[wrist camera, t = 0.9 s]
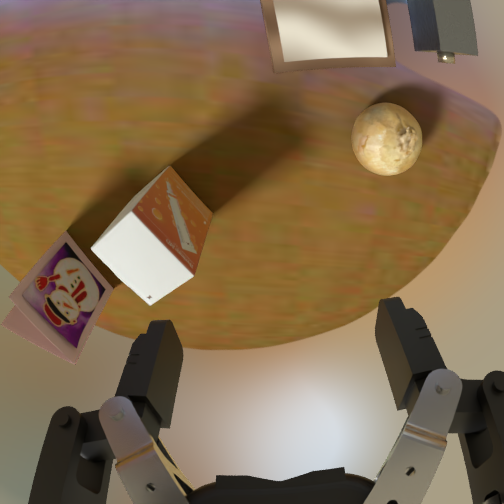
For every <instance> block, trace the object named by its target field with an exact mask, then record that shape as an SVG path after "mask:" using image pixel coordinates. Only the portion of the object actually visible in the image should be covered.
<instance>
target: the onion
mask: <svg viewBox="0 0 504 504" xmlns="http://www.w3.org/2000/svg"><path fill="white" fill-rule="evenodd" d="M351 141H352V147H353V151H354V154H355V156H356V157H357V159H358V161H359V162H360V163H361V164H362V166H364V167H365V168H366V169H368V170H369V171H371V172H373V173H376V174H379V175H386V176H389V175H395V174H399V173H402V172H404V171H406V170H407V169H409V168H410V167H411V166H412V165H413V164H414V163H415V161H416V160H417V158H418V156H419V154H420V151H421V148H422V132H421V128H420V126H419V124H418V122H417V121H416V119H415V118H414V117H413V116H412V114H410V113H409V112H408V111H407V110H406V109H404V108H403V107H401V106H399V105H396V104H393V103H378V104H374V105H372V106H370V107H368V108H366V109H365V110H364V111H363V112H362V113H361V114H360V115H359V116H358V117H357V119H356V121H355V123H354V126H353V130H352V136H351Z"/></svg>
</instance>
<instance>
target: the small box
mask: <svg viewBox="0 0 504 504" xmlns="http://www.w3.org/2000/svg"><path fill="white" fill-rule="evenodd" d="M212 216H213V213H212V212H211V211H210V210H209V209H208V208H207V207H206V206H205V204H204V203H203V202H202V201H201V200H200V199H199V198H198V197H197V196H196V194H195V193H194V192H193V191H192V190H191V189H190V188H189V187H188V186H187V184H186V183H185V182H184V181H183V180H182V179H181V177H180V176H179V175H178V174H177V173H176V172H175V170H174V169H173V168H172V167H171V166H168V167H167V168H166V169H165V170H163V171H162V172H161V173H160V174H159V175H158V176H156V177H155V178H154V179H153V180H152V181H151V182H150V183H148V184H147V185H146V186H145V187H144V188H143V189H142V190H141V191H140V192H138V193H137V194H136V195H135V196H134V197H133V198H132V199H131V201H130V202H129V203H128V204H127V205H126V206H125V207H124V208H123V210H122V211H121V212H120V213H119V214H118V216H117V217H116V218H115V219H114V220H113V222H112V223H111V224H110V225H109V226H108V228H107V229H106V230H105V231H104V232H103V234H102V235H101V236H100V237H99V239H98V240H97V241H96V242H95V243H94V245H93V246H92V247H91V250H92V251H93V252H94V253H95V254H96V255H97V256H98V257H99V258H100V259H101V260H102V261H103V262H104V263H105V264H106V265H107V266H108V267H109V268H110V269H111V270H112V271H113V272H114V274H115V275H116V276H117V277H118V278H119V279H120V280H121V281H122V282H123V283H125V284H126V285H127V286H128V287H130V288H131V289H132V290H133V291H134V292H135V293H136V294H137V295H139V296H140V297H141V298H142V299H143V300H144V301H145V302H146V303H148V304H149V305H152V304H153V303H155V302H156V301H158V300H159V299H161V298H162V297H164V296H165V295H167V294H168V293H170V292H171V291H173V290H174V289H176V288H177V287H179V286H180V285H182V284H183V283H185V282H186V281H188V280H189V279H191V278H192V277H194V276H195V272H196V269H197V266H198V262H199V259H200V256H201V252H202V249H203V246H204V242H205V239H206V236H207V233H208V229H209V226H210V223H211V220H212Z"/></svg>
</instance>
